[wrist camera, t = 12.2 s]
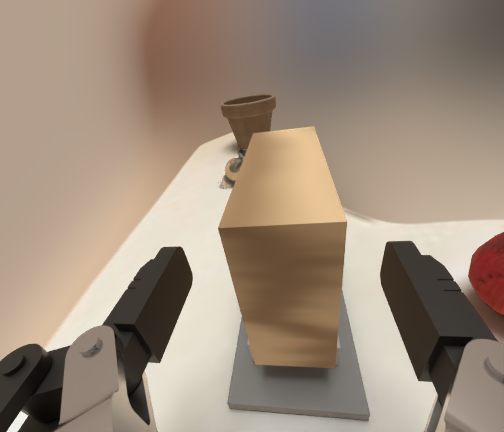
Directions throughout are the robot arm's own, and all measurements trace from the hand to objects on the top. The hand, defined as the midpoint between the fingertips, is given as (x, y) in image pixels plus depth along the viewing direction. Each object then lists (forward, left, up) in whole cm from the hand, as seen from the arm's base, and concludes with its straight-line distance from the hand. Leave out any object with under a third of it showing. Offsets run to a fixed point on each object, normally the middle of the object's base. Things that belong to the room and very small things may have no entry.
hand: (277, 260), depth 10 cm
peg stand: (0, -6, -11) cm, 12 cm away
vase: (+8, -30, -11) cm, 33 cm away
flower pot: (+8, -48, -11) cm, 50 cm away
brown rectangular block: (0, -6, -8) cm, 10 cm away
